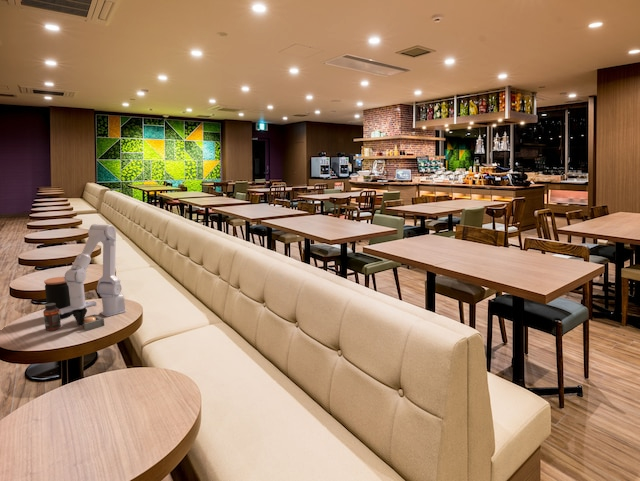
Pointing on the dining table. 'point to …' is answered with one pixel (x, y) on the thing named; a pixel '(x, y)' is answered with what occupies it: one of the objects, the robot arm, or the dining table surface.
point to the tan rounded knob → (89, 319)
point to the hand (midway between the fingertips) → (80, 325)
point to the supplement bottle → (52, 317)
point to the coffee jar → (58, 293)
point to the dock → (94, 323)
